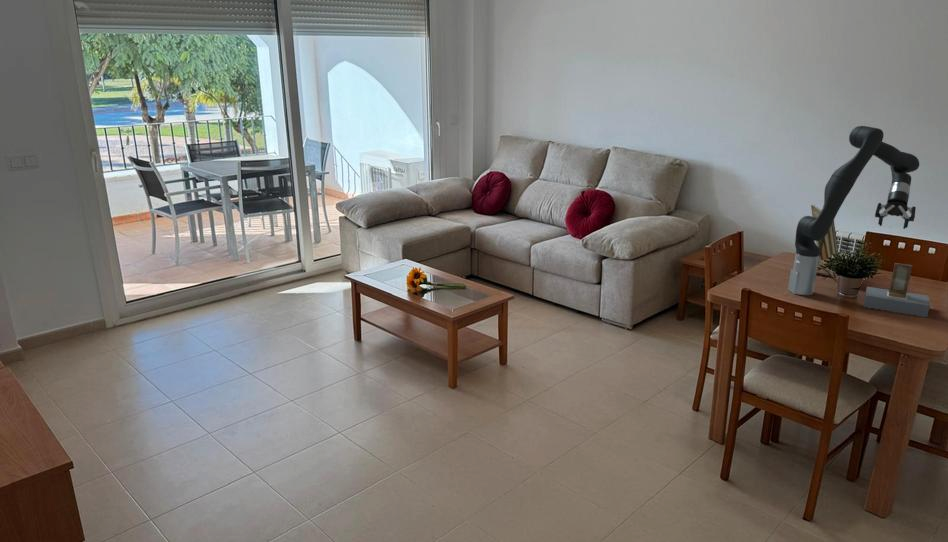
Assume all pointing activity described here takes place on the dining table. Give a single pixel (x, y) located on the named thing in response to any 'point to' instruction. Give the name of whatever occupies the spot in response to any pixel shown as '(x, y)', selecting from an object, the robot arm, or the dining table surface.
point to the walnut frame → (900, 280)
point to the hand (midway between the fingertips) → (892, 226)
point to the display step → (897, 302)
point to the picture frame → (826, 242)
